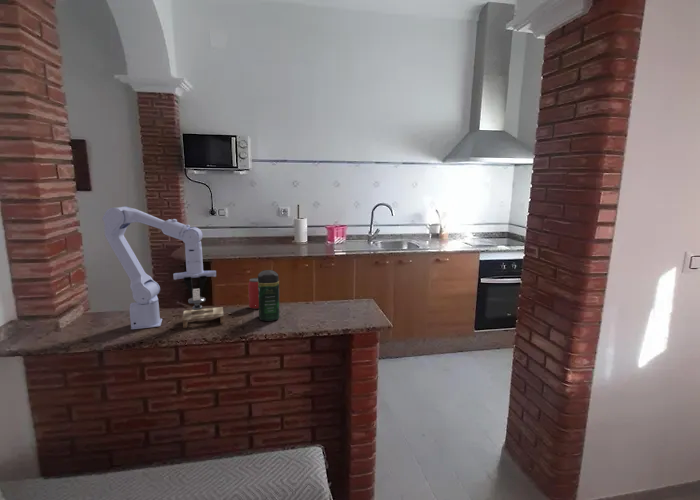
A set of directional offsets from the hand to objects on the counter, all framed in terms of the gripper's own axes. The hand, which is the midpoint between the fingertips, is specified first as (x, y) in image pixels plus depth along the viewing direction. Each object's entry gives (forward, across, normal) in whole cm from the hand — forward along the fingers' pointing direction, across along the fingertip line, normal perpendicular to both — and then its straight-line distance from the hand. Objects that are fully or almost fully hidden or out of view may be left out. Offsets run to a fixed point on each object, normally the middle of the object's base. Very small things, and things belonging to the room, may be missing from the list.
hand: (196, 296), depth 144 cm
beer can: (+10, +23, +12) cm, 28 cm away
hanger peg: (+5, 0, 0) cm, 5 cm away
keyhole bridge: (+10, +2, 0) cm, 10 cm away
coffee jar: (+10, +26, -3) cm, 28 cm away
